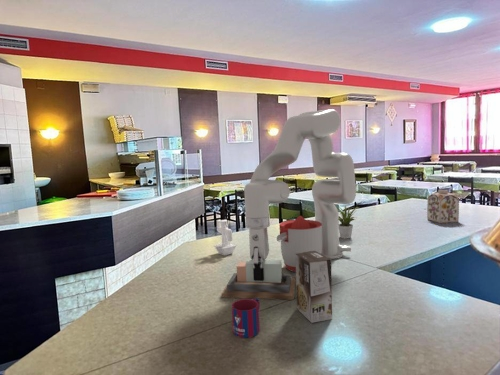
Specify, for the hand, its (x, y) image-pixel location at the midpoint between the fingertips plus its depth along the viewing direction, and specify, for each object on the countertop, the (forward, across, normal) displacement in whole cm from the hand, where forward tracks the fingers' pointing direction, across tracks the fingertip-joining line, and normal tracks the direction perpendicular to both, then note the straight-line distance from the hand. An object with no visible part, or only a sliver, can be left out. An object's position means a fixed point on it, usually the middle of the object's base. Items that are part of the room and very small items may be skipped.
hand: (259, 276), depth 109 cm
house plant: (+4, +67, -34) cm, 75 cm away
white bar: (+1, 0, 0) cm, 1 cm away
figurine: (+4, +37, +21) cm, 43 cm away
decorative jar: (+5, +104, -91) cm, 138 cm away
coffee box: (+4, -15, -17) cm, 23 cm away
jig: (+4, 0, 0) cm, 4 cm away
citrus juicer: (+4, +20, -12) cm, 24 cm away
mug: (+4, -24, -1) cm, 24 cm away
